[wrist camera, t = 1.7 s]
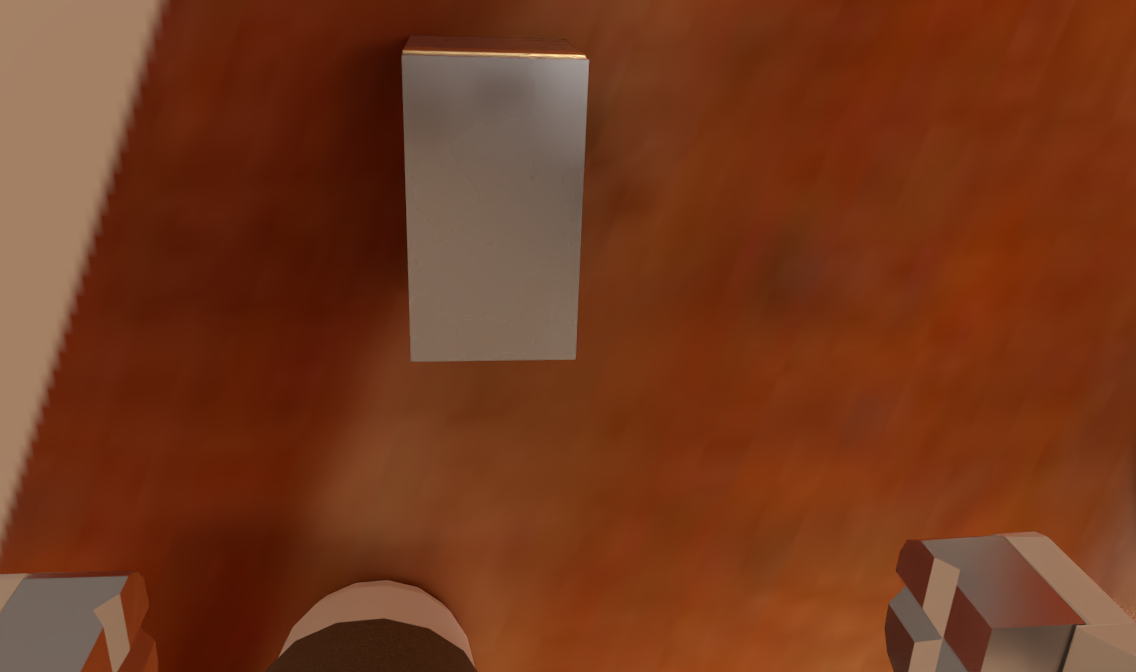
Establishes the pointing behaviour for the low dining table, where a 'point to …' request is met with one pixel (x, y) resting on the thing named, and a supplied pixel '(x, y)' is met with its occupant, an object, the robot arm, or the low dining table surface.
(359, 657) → the coffee cup
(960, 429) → the low dining table surface
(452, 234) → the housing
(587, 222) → the low dining table surface
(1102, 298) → the low dining table surface
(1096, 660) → the robot arm
